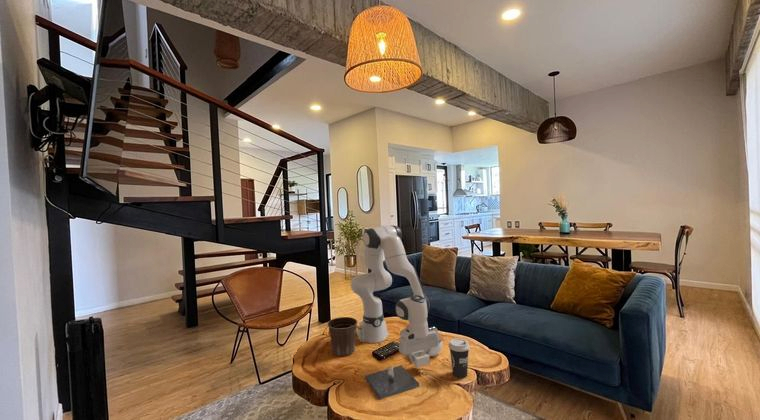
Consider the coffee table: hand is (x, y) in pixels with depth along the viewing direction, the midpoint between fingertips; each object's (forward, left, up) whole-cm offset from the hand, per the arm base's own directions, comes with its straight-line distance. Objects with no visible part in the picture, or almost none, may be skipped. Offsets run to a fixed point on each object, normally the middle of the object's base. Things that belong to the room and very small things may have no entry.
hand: (419, 358), depth 153 cm
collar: (0, 0, -2) cm, 2 cm away
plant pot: (-36, -26, -6) cm, 45 cm away
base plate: (+3, -16, -6) cm, 18 cm away
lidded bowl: (-11, +14, -6) cm, 19 cm away
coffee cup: (+12, +15, -6) cm, 19 cm away
